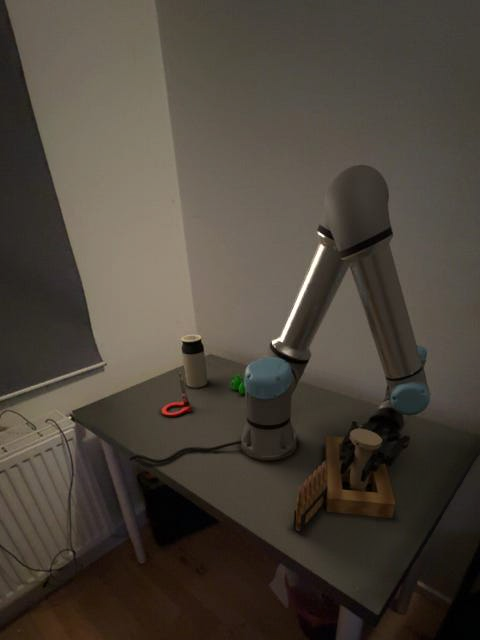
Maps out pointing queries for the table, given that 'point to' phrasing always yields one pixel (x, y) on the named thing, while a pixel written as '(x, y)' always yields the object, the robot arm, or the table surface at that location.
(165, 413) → the tow hook
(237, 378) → the green lumpy cluster
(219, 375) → the table surface
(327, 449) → the rack
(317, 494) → the ammunition clip
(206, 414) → the table surface
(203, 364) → the travel mug
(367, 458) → the handle
